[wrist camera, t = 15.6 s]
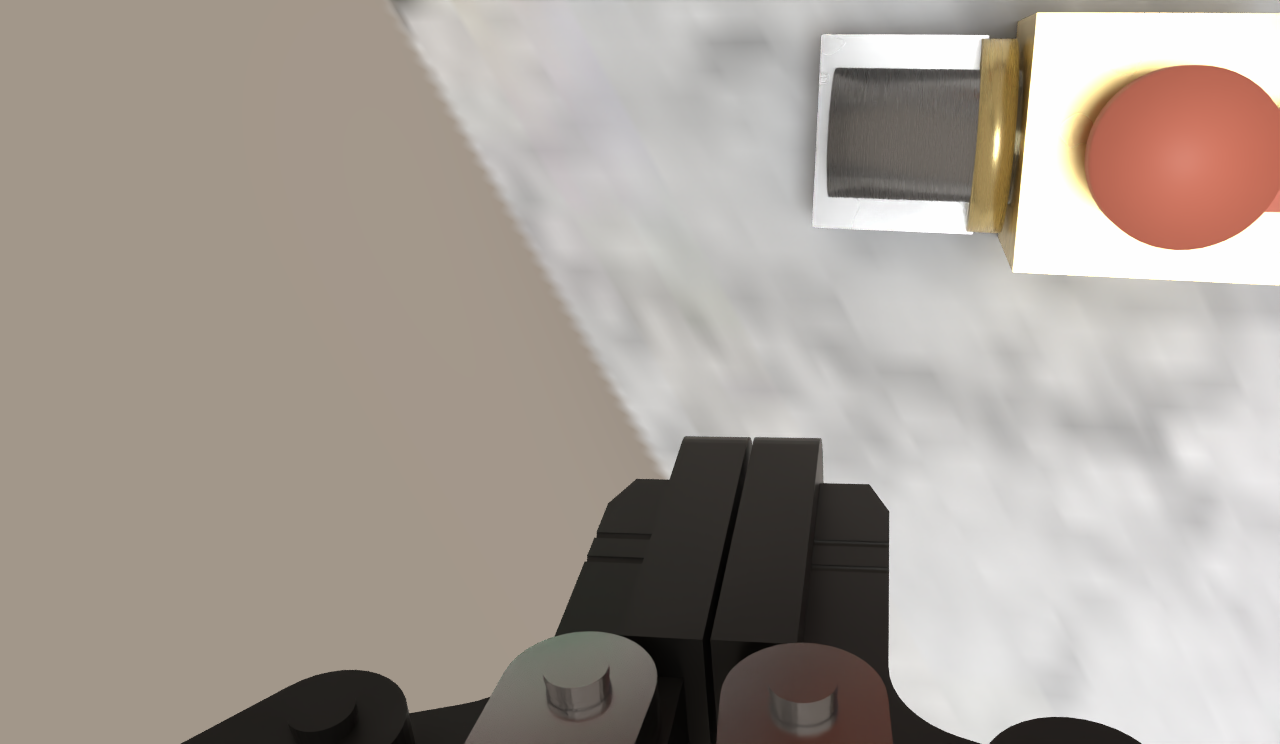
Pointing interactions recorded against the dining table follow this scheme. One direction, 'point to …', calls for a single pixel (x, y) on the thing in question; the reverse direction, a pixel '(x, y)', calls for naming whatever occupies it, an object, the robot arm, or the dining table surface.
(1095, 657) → the dining table surface
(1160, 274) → the valve
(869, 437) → the dining table surface
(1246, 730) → the dining table surface
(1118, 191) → the lever
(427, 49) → the dining table surface
